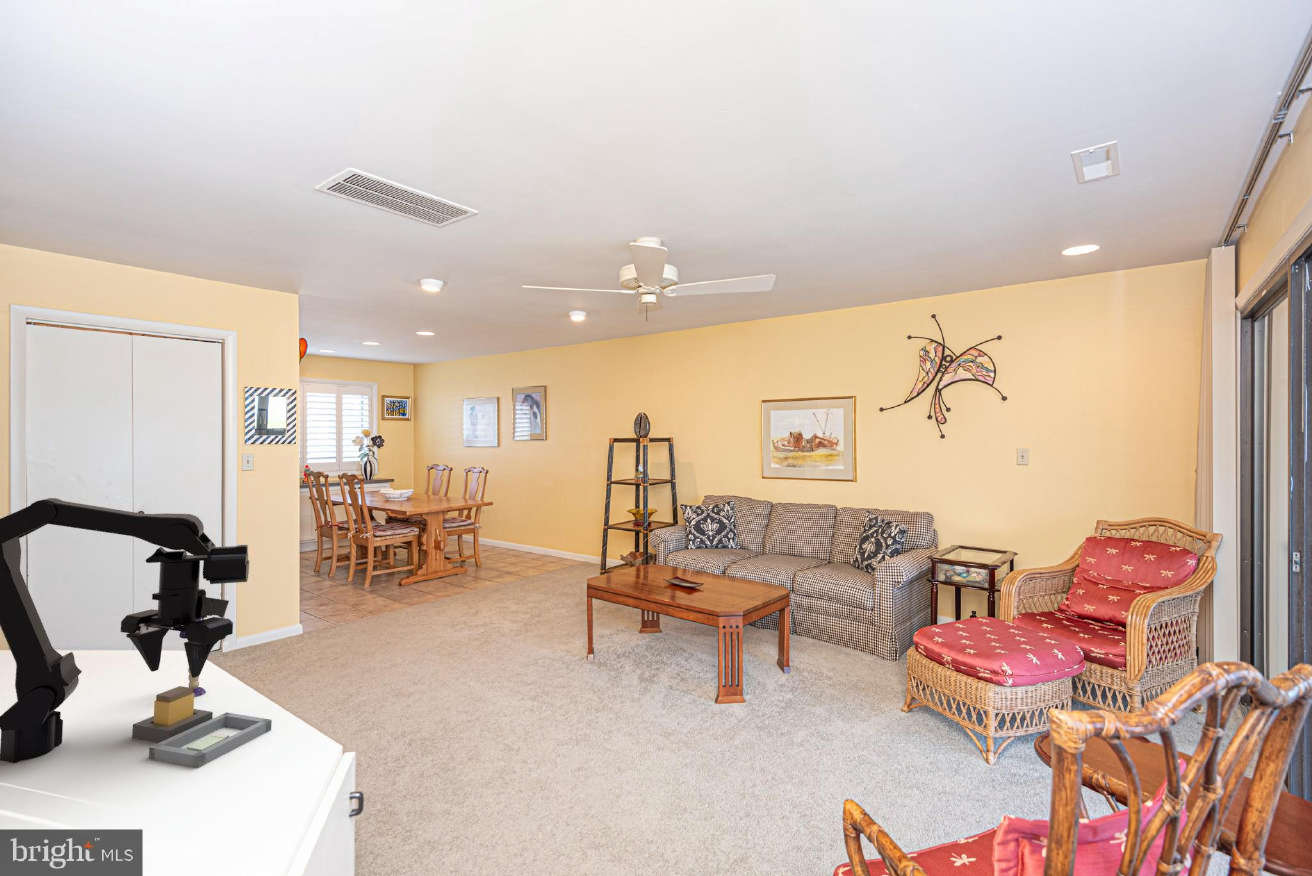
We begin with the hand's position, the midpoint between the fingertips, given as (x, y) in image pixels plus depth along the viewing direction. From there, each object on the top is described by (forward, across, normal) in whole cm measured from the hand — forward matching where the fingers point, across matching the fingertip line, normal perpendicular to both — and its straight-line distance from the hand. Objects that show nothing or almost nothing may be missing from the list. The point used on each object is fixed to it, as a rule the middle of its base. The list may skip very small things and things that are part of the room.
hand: (175, 673), depth 111 cm
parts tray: (+11, -11, +1) cm, 15 cm away
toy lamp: (+11, +12, -14) cm, 21 cm away
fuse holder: (+11, 0, 0) cm, 11 cm away
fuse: (+10, -13, +4) cm, 17 cm away
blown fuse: (+10, 0, 0) cm, 10 cm away
